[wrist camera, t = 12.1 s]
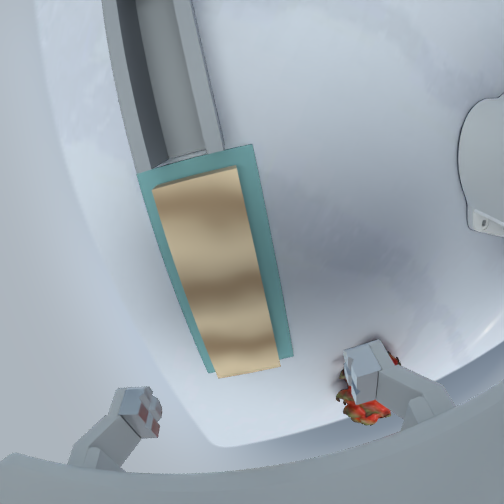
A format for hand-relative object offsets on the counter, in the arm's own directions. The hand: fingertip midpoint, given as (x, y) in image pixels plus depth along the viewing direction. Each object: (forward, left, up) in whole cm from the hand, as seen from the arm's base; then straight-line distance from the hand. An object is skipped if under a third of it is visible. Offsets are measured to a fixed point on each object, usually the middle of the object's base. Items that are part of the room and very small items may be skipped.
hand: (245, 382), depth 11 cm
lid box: (+10, -13, -17) cm, 24 cm away
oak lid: (0, +4, -17) cm, 17 cm away
